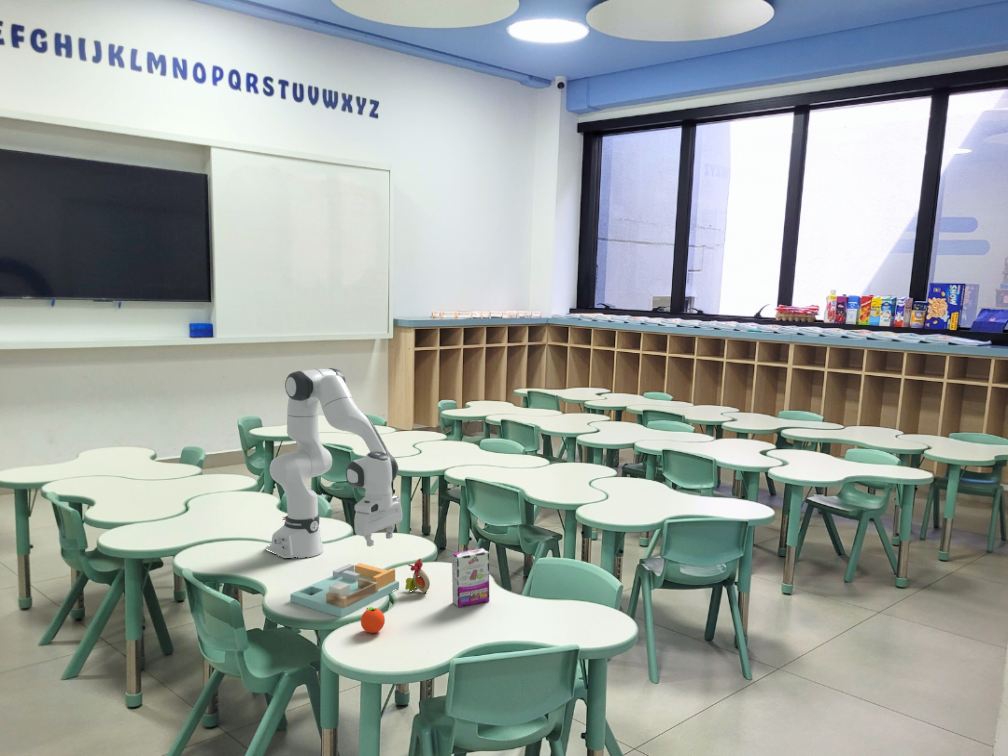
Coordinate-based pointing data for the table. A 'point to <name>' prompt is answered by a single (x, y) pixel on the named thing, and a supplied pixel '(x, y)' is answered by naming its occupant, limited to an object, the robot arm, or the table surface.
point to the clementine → (372, 620)
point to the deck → (317, 592)
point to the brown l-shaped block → (353, 594)
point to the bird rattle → (418, 578)
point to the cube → (340, 589)
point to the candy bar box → (470, 577)
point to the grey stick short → (342, 570)
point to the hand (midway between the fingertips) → (379, 541)
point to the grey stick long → (350, 576)
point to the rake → (376, 574)
